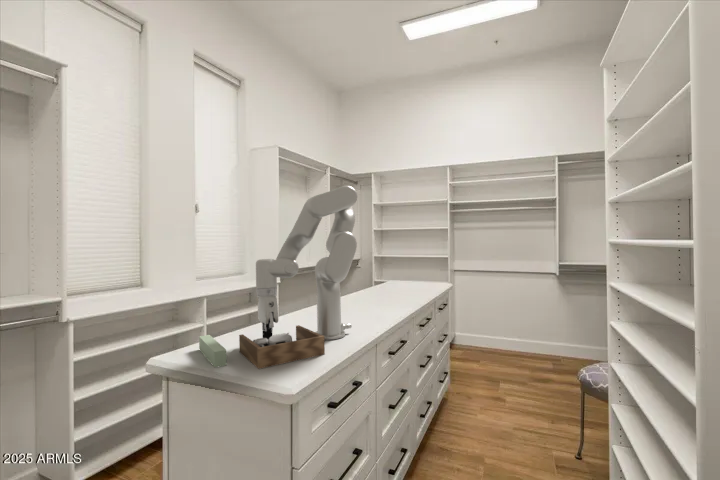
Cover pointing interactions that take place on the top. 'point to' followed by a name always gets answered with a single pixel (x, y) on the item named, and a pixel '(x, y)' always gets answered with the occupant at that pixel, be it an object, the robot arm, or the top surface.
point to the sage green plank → (212, 350)
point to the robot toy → (273, 340)
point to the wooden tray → (283, 349)
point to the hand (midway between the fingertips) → (267, 341)
